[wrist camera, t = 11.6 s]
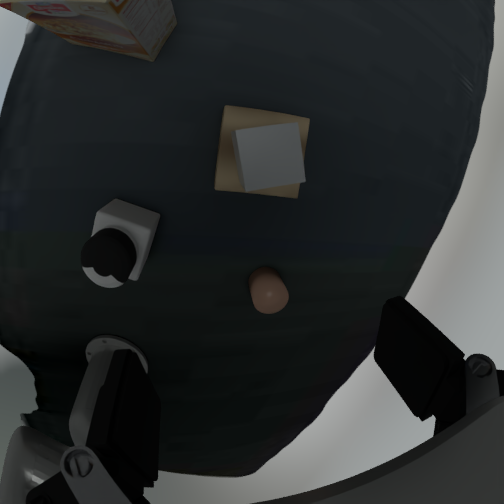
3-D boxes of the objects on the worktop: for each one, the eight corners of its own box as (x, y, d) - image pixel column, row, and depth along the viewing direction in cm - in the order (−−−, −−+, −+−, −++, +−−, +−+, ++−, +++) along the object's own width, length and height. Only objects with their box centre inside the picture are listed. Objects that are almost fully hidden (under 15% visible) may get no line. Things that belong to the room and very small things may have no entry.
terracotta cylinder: (281, 292, 44) (289, 310, 39) (250, 297, 43) (254, 316, 39) (279, 264, 42) (287, 280, 37) (246, 269, 41) (251, 286, 37)
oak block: (286, 190, 38) (297, 198, 33) (214, 183, 36) (214, 189, 31) (297, 120, 34) (309, 118, 30) (223, 109, 32) (225, 105, 28)
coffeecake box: (69, 44, 24) (-9, 5, 6) (93, 5, 21) (34, -52, 4) (153, 64, 28) (104, 3, 10) (179, 22, 26) (159, -60, 8)
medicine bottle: (115, 197, 34) (79, 223, 23) (161, 213, 36) (142, 246, 25) (103, 242, 36) (70, 282, 25) (147, 258, 38) (127, 304, 27)
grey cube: (289, 173, 32) (305, 181, 27) (239, 182, 32) (245, 191, 26) (282, 124, 29) (297, 122, 24) (230, 131, 29) (235, 130, 24)
